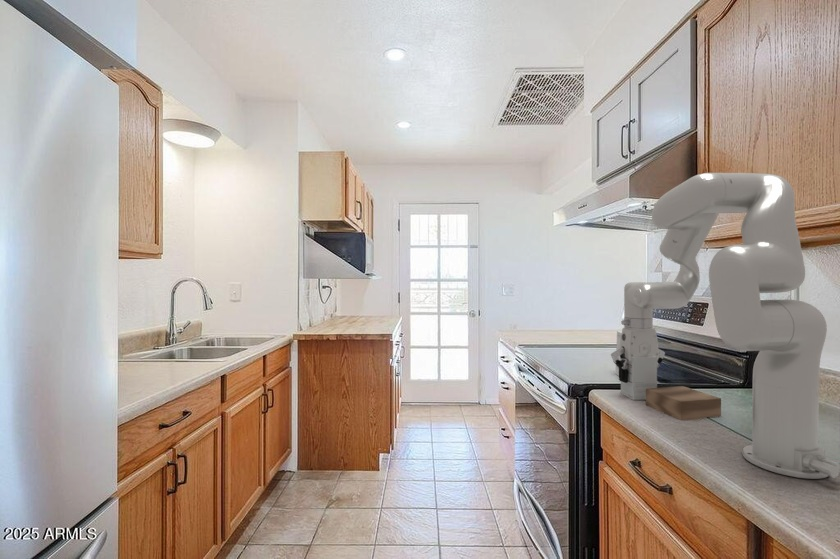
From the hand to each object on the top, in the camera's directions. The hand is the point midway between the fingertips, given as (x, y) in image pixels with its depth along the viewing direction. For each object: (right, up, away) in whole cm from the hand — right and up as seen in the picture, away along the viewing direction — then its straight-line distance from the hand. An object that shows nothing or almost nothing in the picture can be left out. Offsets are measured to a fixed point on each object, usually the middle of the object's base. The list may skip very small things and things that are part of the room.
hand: (638, 380), depth 123 cm
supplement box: (0, -5, 0) cm, 5 cm away
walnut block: (+5, -5, -13) cm, 15 cm away
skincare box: (+7, -5, +17) cm, 19 cm away
